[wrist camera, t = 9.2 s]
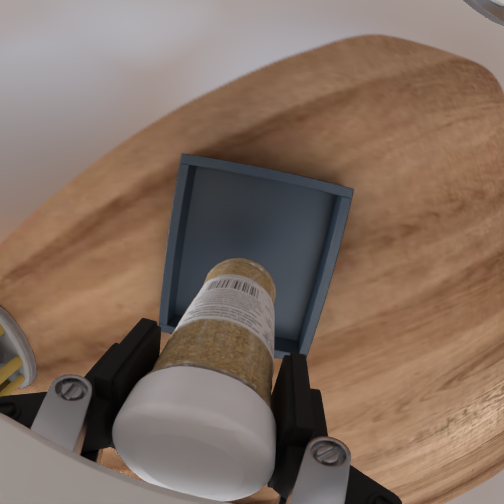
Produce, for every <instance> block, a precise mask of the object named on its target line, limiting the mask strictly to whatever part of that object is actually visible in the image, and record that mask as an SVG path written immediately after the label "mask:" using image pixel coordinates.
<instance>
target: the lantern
mask: <svg viewBox="0 0 504 504" xmlns="http://www.w3.org/2000/svg"><path fill="white" fill-rule="evenodd" d="M36 374H37V369H36V361H35V358H34V355H33V351H32V348H31V346H30V344H29V342H28V340H27V338H26V336H25V334H24V333H23V331H22V330H21V328H20V327H19V325H18V324H17V322H16V321H15V320H14V319H13V318H12V317H11V315H10V314H9V313H8V312H7V311H6V310H4V309H3V308H2V307H0V397H1V396H9V395H10V394H11V393H12V392H13V391H14V390H15V389H16V388H26V387H27V386H29V385H30V384H31V383H32V382H33V381H34V380H35V377H36Z"/></svg>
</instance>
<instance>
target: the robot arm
mask: <svg viewBox="0 0 504 504" xmlns="http://www.w3.org/2000/svg"><path fill="white" fill-rule="evenodd" d="M490 1H492V2H494V3H495V4H498V5H500V6H504V0H490ZM160 339H161V327H160V326H157V322H156V321H153V320H149V319H146V318H142V319H141V320H140V321H139V322H138V323H137V325H136V326H135V327H134V328H133V329H132V330H131V331H130V332H129V334H128V335H127V336H126V337H125V338H124V339H123V340H122V342H121V343H120V344H118V343H114V344H113V345H112V346H111V347H110V348H109V349H108V351H107V352H106V353H105V354H104V355H103V356H102V357H101V358H100V360H99V361H98V362H97V363H96V364H95V365H94V366H93V368H92V369H91V370H90V371H89V372H88V373H87V374H86V376H85V377H81V376H78V375H72V374H69V375H63V376H60V377H58V378H57V379H55V380H54V381H53V383H52V384H51V386H50V388H49V390H48V392H40V393H31V394H20V395H9V396H1V397H0V504H233V503H227V502H222V501H217V500H212V499H207V498H202V497H198V496H194V495H190V494H186V493H182V492H178V491H174V490H171V489H167V488H164V487H160V486H157V485H154V484H151V483H148V482H145V481H142V480H139V479H136V478H133V477H130V476H128V475H125V474H122V473H120V472H117V471H114V470H112V469H109V468H107V467H105V466H102V465H100V463H101V458H102V453H103V449H104V448H108V447H112V448H114V449H116V448H115V446H114V443H113V438H112V428H113V424H114V421H115V419H116V417H117V415H118V413H119V411H120V409H121V408H122V406H123V404H124V402H125V401H126V399H127V397H128V396H129V394H130V392H131V391H132V389H133V388H134V386H135V385H136V384H137V382H138V381H139V380H140V379H142V378H143V377H145V376H146V374H147V373H149V372H150V371H152V370H153V367H154V364H155V363H156V361H157V359H158V357H159V354H160ZM271 409H272V412H273V415H274V419H275V422H276V454H275V467H274V472H273V474H272V477H271V479H270V480H269V481H268V487H271V488H273V489H274V490H275V491H276V492H277V493H278V494H279V496H278V499H277V502H276V504H402V502H401V500H400V499H399V497H398V496H397V495H395V494H394V493H393V492H391V491H389V490H388V489H386V488H385V487H383V486H381V485H380V484H378V483H377V482H375V481H374V480H372V479H371V478H369V477H368V476H366V475H365V474H363V473H362V472H360V471H359V470H357V469H356V468H354V467H353V466H351V465H350V461H351V453H350V450H349V448H348V447H347V446H346V445H345V444H344V443H343V442H341V441H340V440H338V439H335V438H333V437H328V433H327V426H326V420H325V414H324V408H323V402H322V397H321V392H320V390H318V389H311V388H310V383H309V376H308V368H307V361H306V355H305V354H300V353H294V352H291V353H290V355H284V358H283V361H282V364H281V367H280V371H279V374H278V377H277V380H276V383H275V386H274V389H273V392H272V396H271Z"/></svg>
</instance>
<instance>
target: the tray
mask: <svg viewBox="0 0 504 504" xmlns="http://www.w3.org/2000/svg"><path fill="white" fill-rule="evenodd" d="M353 191H354V189H353V188H349V187H345V186H341V185H337V184H333V183H329V182H325V181H321V180H317V179H313V178H309V177H304V176H300V175H296V174H291V173H287V172H282V171H277V170H272V169H268V168H263V167H258V166H253V165H247V164H242V163H237V162H231V161H226V160H220V159H214V158H208V157H202V156H196V155H189V154H182V155H181V160H180V165H179V170H178V176H177V182H176V188H175V194H174V200H173V206H172V213H171V219H170V226H169V233H168V241H167V248H166V256H165V265H164V274H163V283H162V293H161V303H160V315H159V326H160V327H161V331H162V332H166V333H169V334H172V333H173V332H174V330H175V329H176V327H177V326H178V324H179V321H180V320H181V318H182V317H183V315H184V314H185V312H186V310H187V309H188V307H189V306H190V304H191V303H192V301H193V300H194V298H195V297H196V296H197V294H198V293H199V291H200V290H201V288H202V287H203V285H204V282H205V280H206V277H207V275H208V273H209V272H210V271H211V270H212V269H213V268H214V267H215V266H216V265H217V264H219V263H221V262H223V261H226V260H228V259H233V258H244V259H247V260H251V261H254V262H256V263H258V264H260V265H261V266H262V267H264V269H265V270H266V271H267V272H268V273H269V274H270V276H271V277H272V279H273V282H274V285H275V289H276V297H275V302H274V313H275V327H274V357H275V358H281V359H283V358H284V355H290V353H291V352H294V353H300V354H305V355H306V358H307V355H308V352H309V349H310V346H311V343H312V340H313V337H314V334H315V331H316V328H317V325H318V321H319V318H320V315H321V312H322V309H323V305H324V302H325V299H326V295H327V292H328V288H329V285H330V282H331V278H332V274H333V271H334V267H335V264H336V260H337V256H338V253H339V249H340V245H341V241H342V237H343V233H344V229H345V225H346V221H347V217H348V213H349V209H350V204H351V199H352V196H353Z"/></svg>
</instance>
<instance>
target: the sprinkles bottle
mask: <svg viewBox="0 0 504 504" xmlns="http://www.w3.org/2000/svg"><path fill="white" fill-rule="evenodd" d="M275 297H276V289H275V285H274V282H273V279H272V277H271V276H270V274H269V273H268V272H267V271H266V270H265V269H264V267H262V266H261V265H260V264H258V263H256V262H254V261H251V260H247V259H244V258H233V259H228V260H226V261H223V262H221V263H219V264H217V265H216V266H215V267H214V268H213V269H212V270H211V271H210V272H209V273H208V275H207V277H206V280H205V282H204V285H203V287H202V288H201V290H200V291H199V293H198V294H197V296H196V297H195V298H194V300H193V301H192V303H191V304H190V306H189V307H188V309H187V310H186V312H185V314H184V315H183V317H182V318H181V320H180V321H179V324H178V326H177V327H176V329H175V330H174V332H173V333H172V335H171V337H170V339H169V340H168V342H167V344H166V346H165V348H164V349H163V351H162V353H161V354H160V356H159V357H158V359H157V361H156V363H155V364H154V367H153V370H152V371H150V372H149V373H147V374H146V376H145V377H143V378H142V379H140V380H139V381H138V382H137V384H136V385H135V386H134V388H133V389H132V391H131V392H130V394H129V396H128V397H127V399H126V401H125V402H124V404H123V406H122V408H121V409H120V411H119V413H118V415H117V417H116V419H115V421H114V424H113V428H112V438H113V443H114V446H115V448H116V451H117V453H118V454H119V456H120V457H121V459H122V460H123V461H124V463H125V464H126V465H127V466H128V467H129V468H130V469H131V470H132V471H133V472H134V473H135V474H137V475H138V476H139V477H140V478H142V479H143V480H145V481H146V482H148V483H151V484H154V485H157V486H160V487H164V488H167V489H171V490H174V491H178V492H182V493H186V494H190V495H194V496H198V497H202V498H207V499H212V500H217V501H222V502H223V501H232V500H237V499H241V498H244V497H247V496H250V495H252V494H254V493H256V492H258V491H259V490H260V489H262V488H263V487H264V486H265V485H266V484H267V483H268V481H269V480H270V479H271V477H272V474H273V472H274V467H275V454H276V422H275V419H274V415H273V412H272V409H271V390H272V378H273V372H274V327H275V313H274V302H275Z"/></svg>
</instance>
